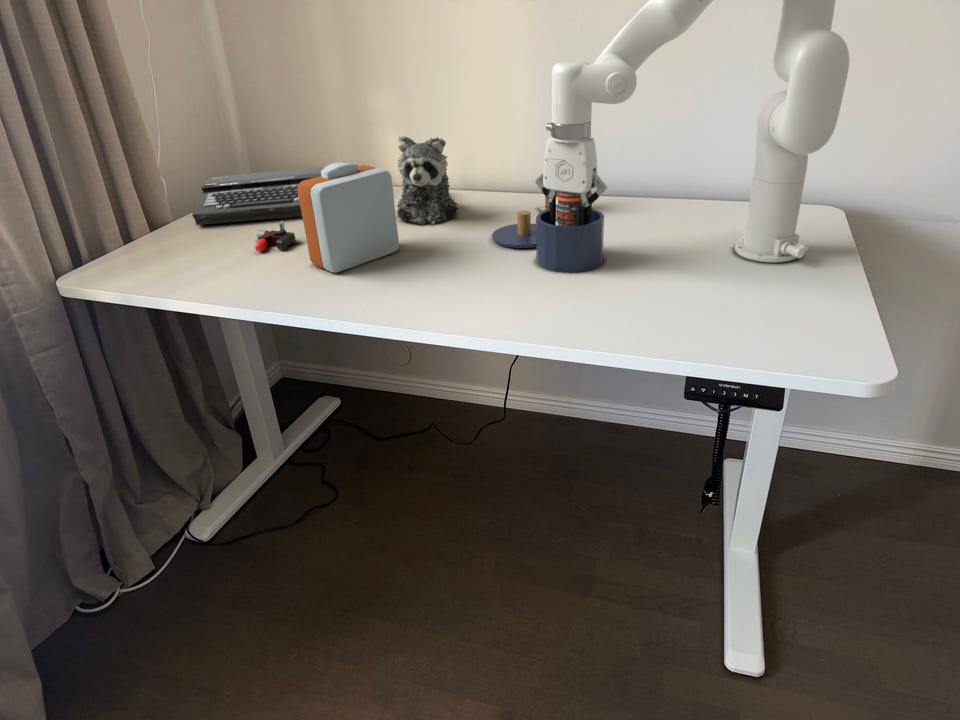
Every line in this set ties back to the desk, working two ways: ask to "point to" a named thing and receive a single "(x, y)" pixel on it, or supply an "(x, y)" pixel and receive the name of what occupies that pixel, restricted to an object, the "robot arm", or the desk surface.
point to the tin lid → (517, 232)
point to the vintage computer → (252, 196)
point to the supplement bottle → (568, 209)
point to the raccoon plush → (424, 182)
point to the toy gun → (275, 238)
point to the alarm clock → (348, 215)
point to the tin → (569, 243)
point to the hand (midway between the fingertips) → (570, 221)
